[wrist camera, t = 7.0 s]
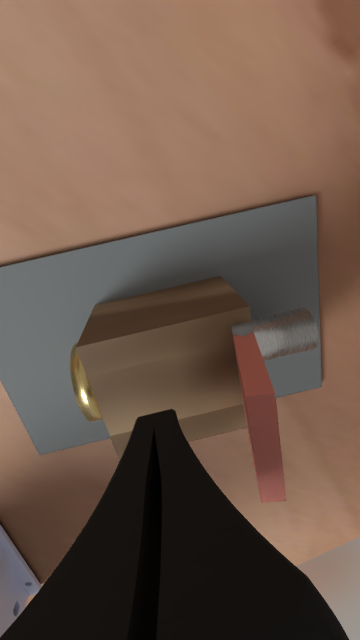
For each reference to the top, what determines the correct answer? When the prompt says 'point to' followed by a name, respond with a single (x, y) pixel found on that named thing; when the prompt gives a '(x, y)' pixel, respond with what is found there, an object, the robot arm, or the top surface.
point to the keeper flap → (259, 413)
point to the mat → (143, 277)
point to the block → (167, 359)
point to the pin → (271, 334)
